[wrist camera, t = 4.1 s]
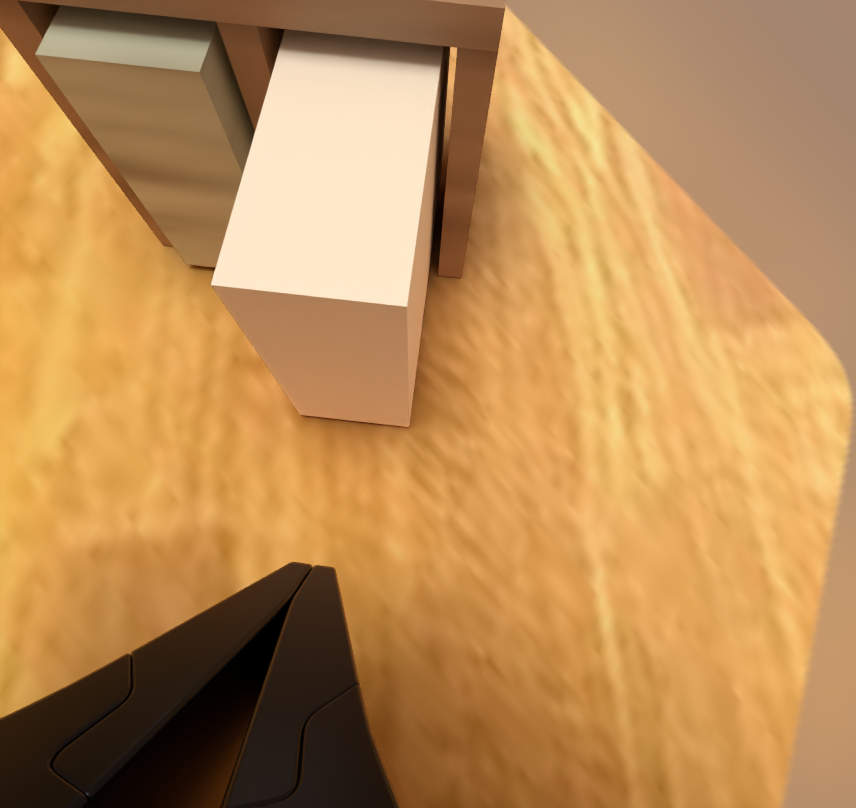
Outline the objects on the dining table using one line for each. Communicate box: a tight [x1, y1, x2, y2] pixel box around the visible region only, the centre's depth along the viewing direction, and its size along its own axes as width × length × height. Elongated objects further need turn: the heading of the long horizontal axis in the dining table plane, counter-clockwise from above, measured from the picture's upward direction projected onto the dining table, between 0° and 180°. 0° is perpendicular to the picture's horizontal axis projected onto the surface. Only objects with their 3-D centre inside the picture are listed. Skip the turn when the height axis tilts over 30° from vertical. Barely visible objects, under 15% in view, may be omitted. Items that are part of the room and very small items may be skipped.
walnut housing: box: [0, 0, 506, 278], centre depth 18 cm, size 9×13×11 cm
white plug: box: [211, 29, 450, 427], centre depth 17 cm, size 12×4×9 cm, turn 174°
